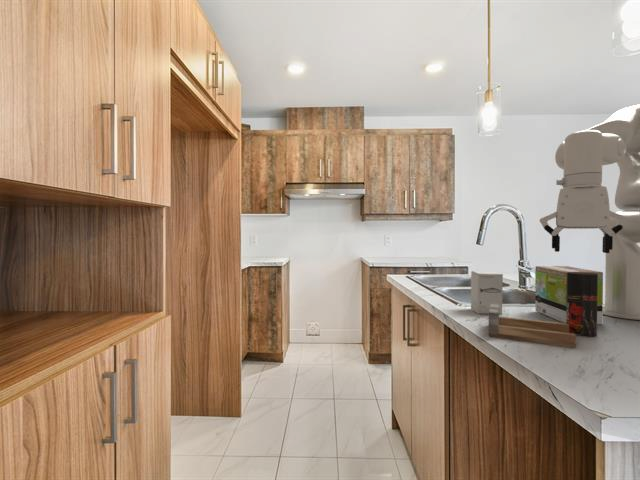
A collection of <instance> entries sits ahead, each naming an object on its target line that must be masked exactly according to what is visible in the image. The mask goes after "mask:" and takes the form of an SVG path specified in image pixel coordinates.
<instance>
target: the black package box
mask: <svg viewBox="0 0 640 480" xmlns="http://www.w3.org/2000/svg"><path fill="white" fill-rule="evenodd" d="M597 291H598V274H596V273H588V272H567V324H569V333H572V334H575V335H576V337H577V336H578V337H584V338H596V337H598V336H597V335H598V324H597Z"/></svg>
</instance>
